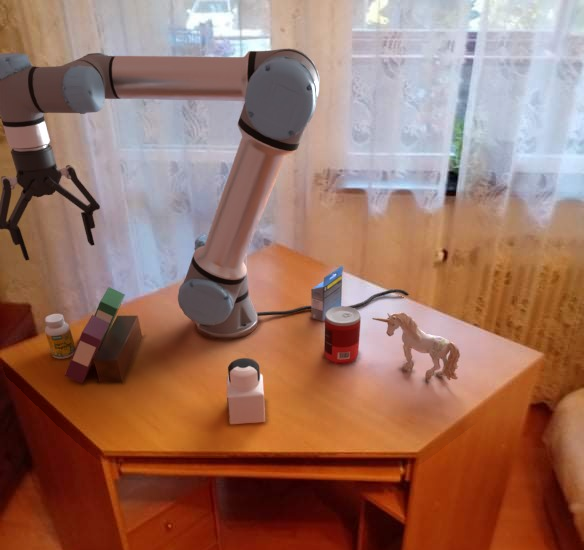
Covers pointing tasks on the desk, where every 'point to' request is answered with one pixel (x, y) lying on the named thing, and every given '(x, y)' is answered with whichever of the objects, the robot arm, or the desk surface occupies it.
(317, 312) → the tape cartridge
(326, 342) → the canned food
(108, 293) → the green tea box
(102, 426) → the desk surface
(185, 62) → the robot arm
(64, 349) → the supplement bottle
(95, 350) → the plum tea box
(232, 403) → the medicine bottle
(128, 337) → the walnut block
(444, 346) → the unicorn figurine
